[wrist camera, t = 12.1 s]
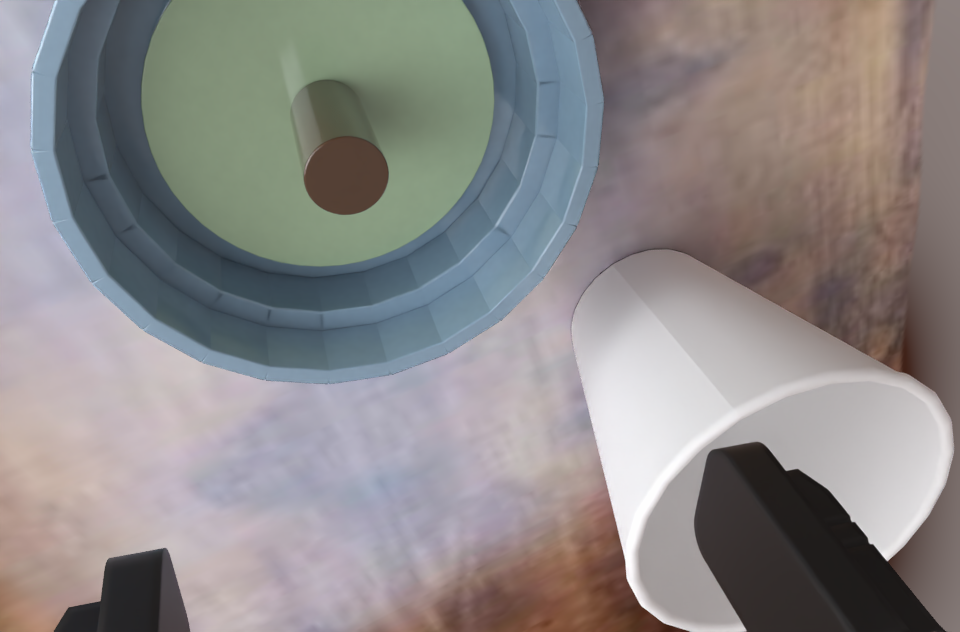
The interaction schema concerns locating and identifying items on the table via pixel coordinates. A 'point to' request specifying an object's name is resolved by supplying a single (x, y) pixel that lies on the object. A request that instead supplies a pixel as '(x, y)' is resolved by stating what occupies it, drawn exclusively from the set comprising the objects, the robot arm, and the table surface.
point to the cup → (738, 419)
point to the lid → (317, 120)
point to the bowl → (310, 289)
